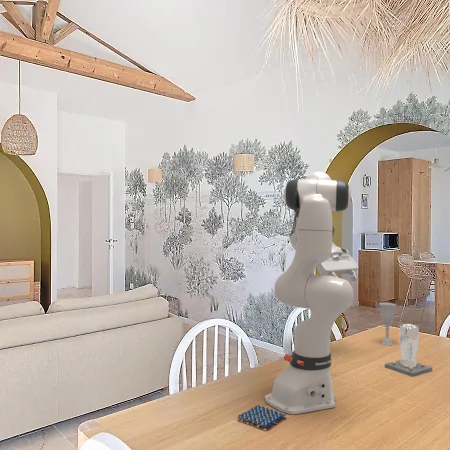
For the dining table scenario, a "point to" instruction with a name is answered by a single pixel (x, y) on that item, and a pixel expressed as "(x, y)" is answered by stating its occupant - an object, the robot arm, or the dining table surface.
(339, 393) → the dining table surface
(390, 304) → the chalice
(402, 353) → the beer glass
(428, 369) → the coaster
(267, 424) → the woven mat
